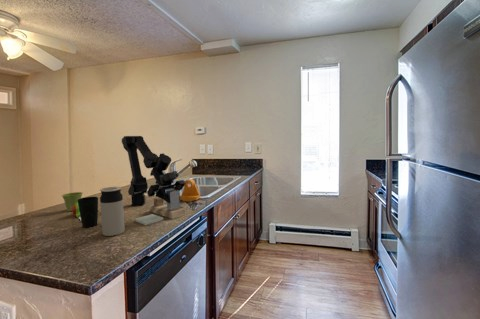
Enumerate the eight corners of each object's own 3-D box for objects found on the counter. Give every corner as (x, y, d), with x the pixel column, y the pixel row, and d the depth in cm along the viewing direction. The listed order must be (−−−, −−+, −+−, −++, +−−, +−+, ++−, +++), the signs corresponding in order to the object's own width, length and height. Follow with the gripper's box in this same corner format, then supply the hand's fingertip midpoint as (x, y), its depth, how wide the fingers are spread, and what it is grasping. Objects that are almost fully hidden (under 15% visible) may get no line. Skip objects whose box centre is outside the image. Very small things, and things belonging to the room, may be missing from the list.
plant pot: (58, 211, 135) (57, 195, 135) (76, 206, 144) (74, 191, 143) (71, 213, 132) (69, 196, 131) (87, 208, 141) (86, 192, 140)
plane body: (149, 211, 132) (148, 198, 131) (161, 208, 137) (161, 196, 137) (172, 218, 119) (171, 205, 118) (184, 215, 124) (184, 201, 124)
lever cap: (166, 209, 123) (165, 191, 123) (175, 207, 127) (174, 189, 126) (170, 211, 121) (169, 192, 120) (179, 208, 125) (178, 190, 124)
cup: (78, 230, 107) (76, 201, 106) (80, 224, 113) (78, 198, 112) (99, 226, 110) (97, 199, 109) (100, 221, 117) (98, 195, 116)
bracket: (178, 201, 152) (177, 181, 150) (183, 198, 159) (182, 179, 158) (196, 201, 150) (195, 181, 149) (200, 198, 157) (199, 179, 156)
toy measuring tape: (86, 211, 135) (85, 199, 134) (90, 221, 119) (89, 207, 118) (72, 213, 131) (71, 201, 130) (74, 224, 115) (73, 209, 115)
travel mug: (110, 238, 97) (106, 191, 96) (98, 234, 102) (95, 189, 100) (128, 231, 104) (126, 187, 103) (117, 228, 108) (114, 185, 107)
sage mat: (134, 220, 117) (134, 218, 117) (152, 216, 124) (152, 214, 124) (145, 225, 111) (144, 222, 111) (163, 219, 118) (163, 217, 118)
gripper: (149, 168, 118) (163, 195, 111) (182, 164, 132) (197, 187, 125) (141, 183, 123) (154, 209, 117) (174, 178, 137) (187, 201, 131)
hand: (174, 201), depth 123 cm, fingers closed on lever cap, 5 cm apart
